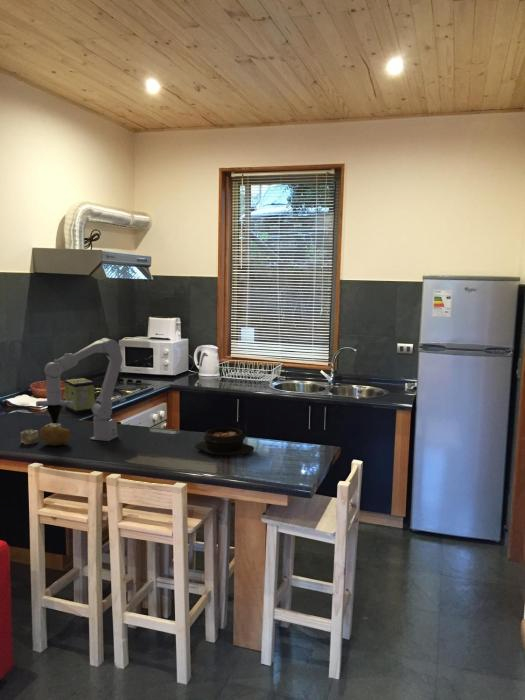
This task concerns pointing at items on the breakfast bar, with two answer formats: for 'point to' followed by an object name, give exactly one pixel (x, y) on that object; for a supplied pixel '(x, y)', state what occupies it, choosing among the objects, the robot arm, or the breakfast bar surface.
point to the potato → (55, 435)
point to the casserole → (224, 442)
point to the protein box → (79, 394)
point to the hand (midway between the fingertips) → (55, 422)
